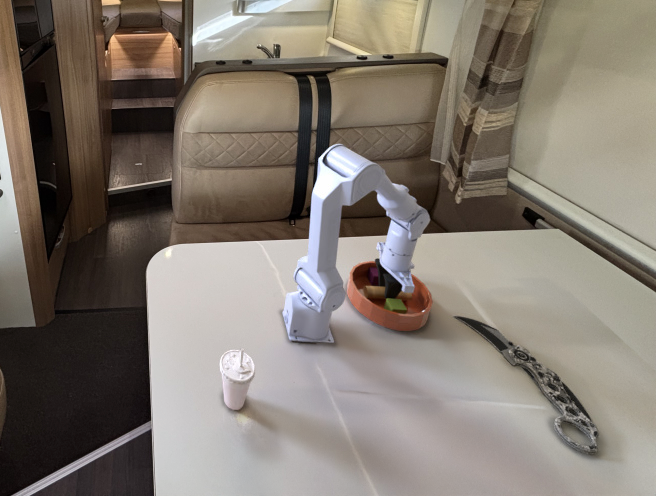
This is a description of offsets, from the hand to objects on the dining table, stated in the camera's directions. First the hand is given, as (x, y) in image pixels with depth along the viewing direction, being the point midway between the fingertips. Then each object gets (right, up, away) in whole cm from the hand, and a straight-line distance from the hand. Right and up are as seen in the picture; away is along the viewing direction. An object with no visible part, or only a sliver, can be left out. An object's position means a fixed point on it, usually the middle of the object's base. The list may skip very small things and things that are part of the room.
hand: (386, 292), depth 102 cm
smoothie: (-41, -12, -21) cm, 48 cm away
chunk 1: (+1, 0, +6) cm, 6 cm away
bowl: (0, -3, +1) cm, 3 cm away
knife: (+18, -10, -17) cm, 27 cm away
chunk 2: (0, -4, -3) cm, 5 cm away
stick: (0, -1, +1) cm, 2 cm away
